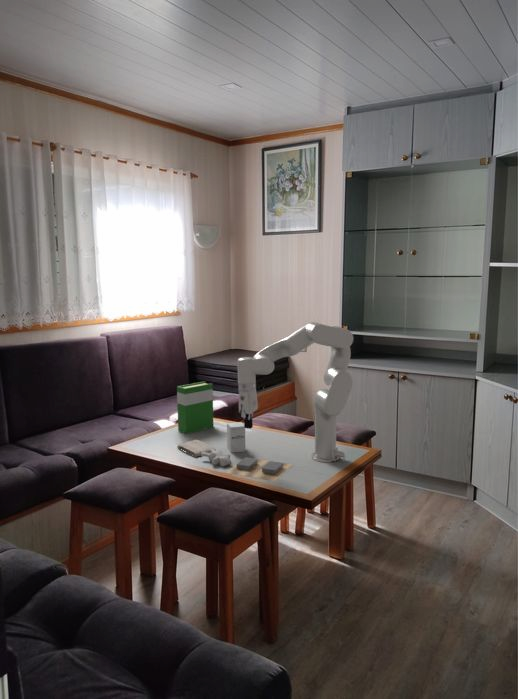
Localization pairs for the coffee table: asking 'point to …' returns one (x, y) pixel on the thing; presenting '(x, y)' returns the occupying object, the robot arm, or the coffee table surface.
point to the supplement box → (235, 437)
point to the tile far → (247, 463)
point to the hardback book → (195, 407)
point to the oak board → (259, 471)
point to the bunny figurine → (217, 457)
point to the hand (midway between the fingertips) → (248, 427)
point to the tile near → (272, 467)
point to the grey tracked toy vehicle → (195, 447)
